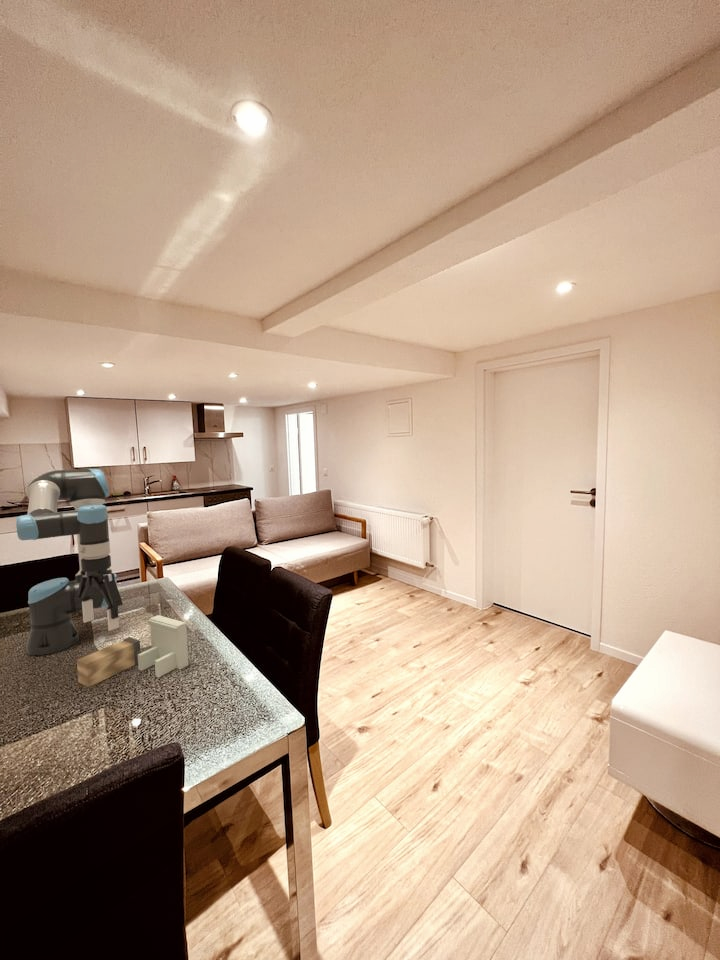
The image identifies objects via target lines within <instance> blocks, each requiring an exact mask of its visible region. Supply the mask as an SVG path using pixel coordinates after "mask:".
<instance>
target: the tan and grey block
mask: <svg viewBox="0 0 720 960" xmlns="http://www.w3.org/2000/svg"><path fill="white" fill-rule="evenodd" d="M140 653H142V652H141V640H139V639H136V638H134V637H130V636H128V637H125V638H124V639H123V640H121V641H119V642H116V643H114V644H112V645H108V646H107V647H104V648H102V649H100V650H97V651H94V652H92V653H90V654H88V655H85V656H83V657H80V658H78V659H76V667H77V677H78V678H77V680H78V683H79V684H81V685H83V686H85V687H87V688H90V687H92V686H95V685H96V684H98V683H101V682H103V681H104V680H107V679H108V678H111V677H112V676H114V675H117V674H119V673H120V672H124V671H125V670H127V669H129V668H132V667H133V666H135V665H138V654H140Z"/></svg>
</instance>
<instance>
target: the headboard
mask: <svg viewBox="0 0 720 960" xmlns="http://www.w3.org/2000/svg"><path fill="white" fill-rule="evenodd" d="M147 625H149V629H150V643H151V646H150V647H151V648H149V649H146V650H144V651H142V652H141V653H140V654H138V664H137V665H138V671H141V672H143V671H144V670H147V669H148V668H151V667H152V666H154V673H155V677H156V678H160V677H162V676H165V675H166V674H168V673H170V672H172V671H173V670H174V671H175V669H177V670H183V669H185V668H186V667H188V666H189V653H188V652H189V651H188V633H187V623H186V622H185V621H182V620H181V621H180V620H179V619H173V618H170V617H168V616H163V615H160V614H157V615H155V616H152V617H150V618H149V619H148V620H147Z"/></svg>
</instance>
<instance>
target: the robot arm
mask: <svg viewBox="0 0 720 960" xmlns="http://www.w3.org/2000/svg"><path fill="white" fill-rule="evenodd" d="M26 496H27V497H26V498H27V499H28V506H27V514H24V515H23V514H22V515H19V516H17V517H16V520H15V521H16V534H17V538H18V540H20V541H36V540H43V539H50V538H57V537H65V536H66V537H67V536H75V535H76V537H77V539H76V540H77V552H78V563H79V570H78V572H77V573H76V574H75V577H74V578H75V579H74V580H69V579H68V578H67V577H57V578H52V579H49V580H45V581H43V582H40V583H37V584H36V585H34V586H32V587H31V588H30V589H29V591H28V592H27V593H28V595H27V596H28V597H27V598H28V601H27V604H28V607H29V608H28V609H29V619H30V620H29V621H30V622H29V623H30V631H29V634H28V637H27V641H26V643H25V644H26V645H25V653H26V654H27V655H29V656H34V655H37V656H45V655H46V656H47V655H51V654H55V653H58V652H61V651H64V650H66V649H68V648H71V647H73V646H74V645H75V644H77V643H78V641H79V640H80V637H79V636H80V635H79V632H78V629H77V628H76V626H75V624H74V622H73V621H72V614H75V613H79V612H80V613H81V612H82V621H83V623H84V624H85V623H88V622H90V621H94V620H95V615H94V614H95V613H94V609H101V608H103V607H106V614H107V630H108V631H113V630H116V629H118V628H120V621H119V619H120V618H119V607H120V606H122V605H123V604H124V603H123V600H122V597H121V594H120V591H119V588H118V586H117V585H118V582H117V581H118V580H117V573H115V572H114V573H113V571H112V568H111V567H112V560H111V559H112V557H111V555H110V554H111V546H110V545H111V543H110V535H109V534H110V533H109V532H110V531H109V519H108V518H109V513H108V509H107V508H108V507H107V506H106V505H105V504H104V503H105V502H106V499H107V498H108V497H109V496H110V490H109V486H108V482H107V479H106V475H105V473H104V471H103V470H101V469H100V468H94V469H93V468H84V469H83V468H82V469H81V468H80V469H64V470H63V469H59V470H57V469H56V470H51V471H48V472H45V473H43V474H41V475H39V476H37V477H35V478H34V479H33V480H31V482H30V483H29V484H28V486H27V488H26ZM59 501H69V505H70V506H71V507H73V508H74V510H68V511H67V510H66V511H59V512H58V502H59ZM44 654H45V655H44Z"/></svg>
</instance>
